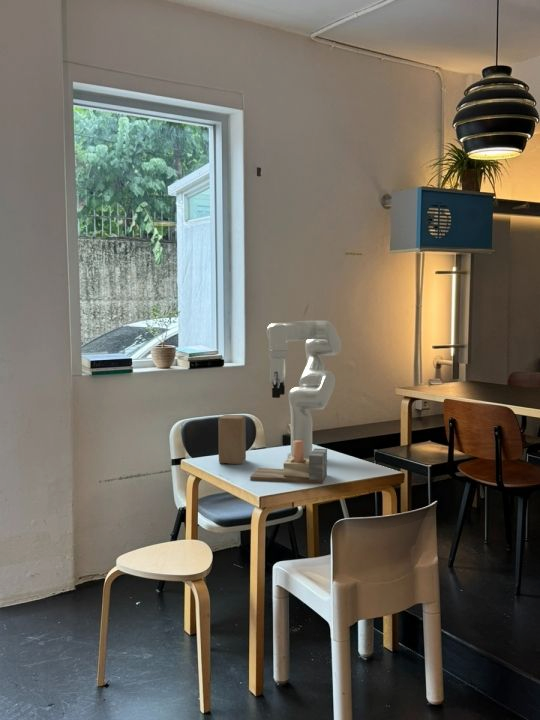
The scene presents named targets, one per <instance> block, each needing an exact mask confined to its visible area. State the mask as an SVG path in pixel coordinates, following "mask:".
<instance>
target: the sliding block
mask: <svg viewBox="0 0 540 720" xmlns="http://www.w3.org/2000/svg"><path fill="white" fill-rule="evenodd" d="M283 469H284V476H289V477H309V459H304V463H293V458H288V457H287V459H286V460H285V461H284V462H283Z"/></svg>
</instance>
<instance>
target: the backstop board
mask: <svg viewBox="0 0 540 720" xmlns="http://www.w3.org/2000/svg"><path fill="white" fill-rule="evenodd" d="M327 475H328V449H327V448H314V449H312V453H311V454H310V456H309V477H289V476H284V468H267V467H265V468H264V467H263V468H262V467H258V468H257V469H256V470H255V471H254V472H253V473H252V474H251V475H250V477H249V479H250V481H255V480H256V481H255V482H257V481H258V482H259V481H260V482H279V483H299V484H314V485H315V484H316V485H317V484H319V485H322V484H323V483H324V481H325V480H326V477H327Z"/></svg>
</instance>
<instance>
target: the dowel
mask: <svg viewBox="0 0 540 720" xmlns="http://www.w3.org/2000/svg"><path fill="white" fill-rule="evenodd" d="M293 463H304V441H301V440H296V441H293Z"/></svg>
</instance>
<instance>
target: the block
mask: <svg viewBox="0 0 540 720" xmlns="http://www.w3.org/2000/svg"><path fill="white" fill-rule="evenodd" d="M246 420H247V419H246V415H244V414H223V415H222V416H219V418H218V422H217V424H218V463H219V464H221V463H228V464H227V465H241V464H243V462H244V461H246V459H247V450H246V449H247V445H246V444H247V443H246V442H247V441H246V440H247V438H246V435H247V432H246V430H247V429H246V428H247V426H246V425H247V424H246V423H247V422H246Z"/></svg>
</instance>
